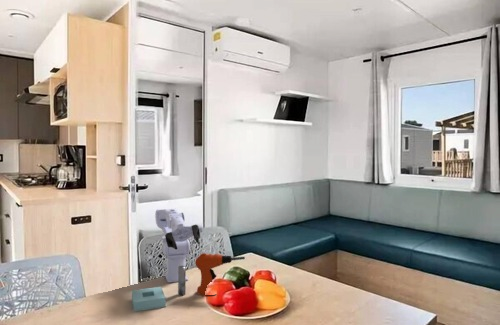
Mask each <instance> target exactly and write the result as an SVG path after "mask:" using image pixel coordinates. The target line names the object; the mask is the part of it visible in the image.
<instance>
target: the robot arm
mask: <svg viewBox="0 0 500 325" xmlns="http://www.w3.org/2000/svg"><path fill="white" fill-rule="evenodd" d="M154 216H155V217H154V218H155V224H156V226H157V228H159V229H161V230H162V232H163V234H164V235H162V236H161V239H162V242H163V243H162V244H163V246H162V248H163V255H164V257H165V258H167V259H166V272H165V273H164V276H165V278H166V279H165V280H166V281H167V283H175V282H176V283H177V282H178V267H179V266H186V265H187V263H186V262H187V261H186V260H187V259H186V258H187V257H188V255H189V254H190V251H191V245H190V244H191V243H190V240H189V239H190V238H192V237H193V240H195V243H196V244H198V243H200V241H199V240H200V239H201V233H203V228H202V226H201V225H199V224H193V225H187V223H186V222H185V214H184V212H178V209H176V208H167V209H156V210H155V215H154ZM186 281H189V278H188V276H187V275H186Z"/></svg>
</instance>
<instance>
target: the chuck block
mask: <svg viewBox="0 0 500 325" xmlns="http://www.w3.org/2000/svg"><path fill="white" fill-rule="evenodd" d="M166 298H167V297H166V295H165V293H164V290H163V288H162V286H154V287H149V288H141V289H134V290H131V301H132V302H131V303H132V308H133V309H132V310H133V312H140V311H146V310H151V309H159V308H166Z"/></svg>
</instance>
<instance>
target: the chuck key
mask: <svg viewBox="0 0 500 325" xmlns="http://www.w3.org/2000/svg"><path fill="white" fill-rule="evenodd" d="M186 270H187V267H186V266H179V267H178V281H177V282H178V284H177V285H178V286H177V288H178V290H177V293H178V294H177V295H178V296H185V295H186V290H187V289H186V288H187V287H186V282H187V280H186V276H187V273H186Z"/></svg>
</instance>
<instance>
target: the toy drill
mask: <svg viewBox="0 0 500 325" xmlns="http://www.w3.org/2000/svg"><path fill="white" fill-rule="evenodd" d="M245 259H246V257H245V256H236V257H234V256H233V257H232V256H231V255H223V254H222V255H221V254H218V253H215V254H213V253H212V254H211V253H208V254H207V253H204V252H203V253H201V254H200V255H198V256H197V258H196V259H195V266H196V268H197V269H198V270H200V276H201V280H200V285H199V286H197V289H196V294H197V295H198V296H199V295H200V296H206V295H205V291H206V288H207V285H208V284H209V283H210V282H213V280H215V279H216V277H217V274H215V272H214V271H215V270H214V269H215V268H217V267H220V266H223V265H224V264H230V263H231V262H232V261H238V260H240V261H241V260H245Z"/></svg>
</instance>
